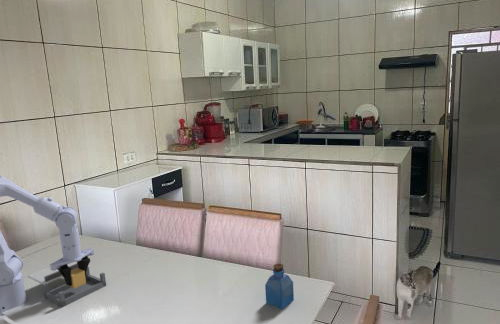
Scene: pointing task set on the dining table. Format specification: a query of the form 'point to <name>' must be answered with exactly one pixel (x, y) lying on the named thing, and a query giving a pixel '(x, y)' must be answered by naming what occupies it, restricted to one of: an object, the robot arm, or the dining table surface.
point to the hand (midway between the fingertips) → (76, 281)
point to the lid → (49, 274)
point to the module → (77, 278)
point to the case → (74, 290)
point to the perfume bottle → (279, 288)
